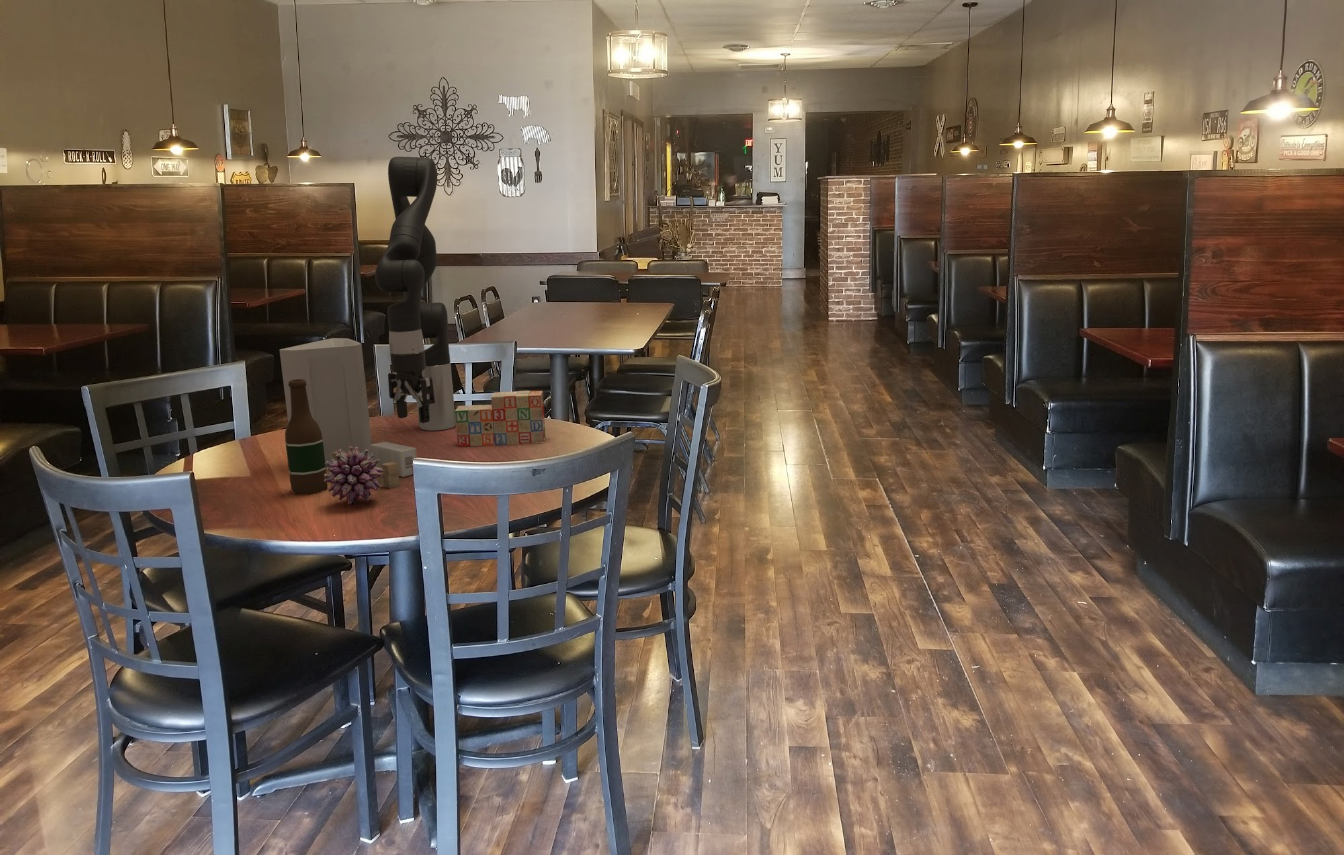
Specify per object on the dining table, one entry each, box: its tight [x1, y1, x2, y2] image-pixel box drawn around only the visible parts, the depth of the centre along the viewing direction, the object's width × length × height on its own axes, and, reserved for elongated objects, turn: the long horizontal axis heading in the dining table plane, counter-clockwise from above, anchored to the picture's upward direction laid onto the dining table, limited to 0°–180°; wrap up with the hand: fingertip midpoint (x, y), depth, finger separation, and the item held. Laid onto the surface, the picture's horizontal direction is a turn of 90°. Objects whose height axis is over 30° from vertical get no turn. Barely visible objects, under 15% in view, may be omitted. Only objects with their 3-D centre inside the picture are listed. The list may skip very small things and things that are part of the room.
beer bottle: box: [284, 379, 329, 495], centre depth 233 cm, size 8×8×24 cm
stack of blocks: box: [455, 390, 546, 447], centre depth 273 cm, size 21×6×12 cm, turn 92°
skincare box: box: [371, 441, 418, 478], centre depth 248 cm, size 6×4×12 cm
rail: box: [332, 451, 401, 489], centre depth 242 cm, size 22×2×5 cm, turn 48°
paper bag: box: [279, 337, 373, 468], centre depth 258 cm, size 19×15×28 cm
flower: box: [324, 447, 383, 505], centre depth 223 cm, size 12×12×12 cm
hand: (413, 420), depth 250 cm, fingers open, 8 cm apart
